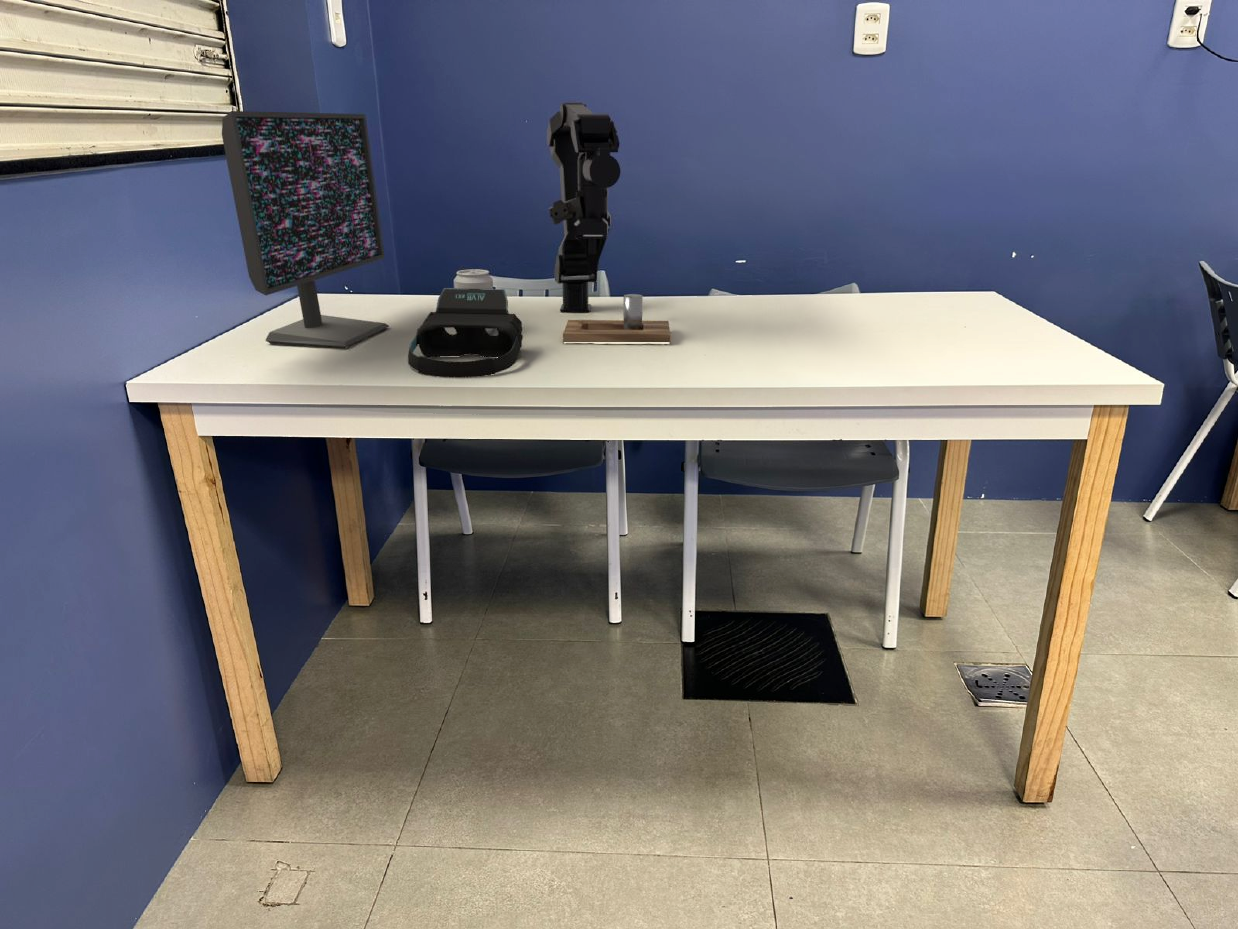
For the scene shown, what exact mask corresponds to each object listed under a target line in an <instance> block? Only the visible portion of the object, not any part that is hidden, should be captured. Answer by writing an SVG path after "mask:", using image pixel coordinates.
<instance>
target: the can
mask: <svg viewBox="0 0 1238 929" xmlns="http://www.w3.org/2000/svg"><path fill="white" fill-rule="evenodd" d="M489 273H490V271H489V270H487V269H477V268H476V269H462V270H457V271H456V276H455V278H454V279H453V288H469V289H494V284H493V277H492V276H490V274H489ZM485 329H486V331H487V333H488V334H491V333H492V332H493V331H494V329H487V328H485Z"/></svg>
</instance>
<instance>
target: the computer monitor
mask: <svg viewBox="0 0 1238 929" xmlns="http://www.w3.org/2000/svg"><path fill="white" fill-rule="evenodd" d="M221 125H222V126H221V137H222V142H223V149H224V152H225V158H226V163H227V169H228V173H229V174H228V175H229V179H230V184H231V189H232V195H233V200H234V205H235V209H236V210H235V211H236V215H237V220H238V227H239V231H240V237H241V242H242V248H243V251H244V252H243V253H244V257H245V262H246V267H247V273H248V277H249V279H250V282H251V284H252V286H253V288H254V290H255V291H256V292H258V293H260V294H262V295H263V296H268V295H272V294H274V293H279V292H281V291H284V290H285V291H286V290H288V289H292V288H294V287H296V288H297V292H298V293H297V294H298V298H299V299H298V300H299V303H300V304H299V305H300V310H301V315H302V319H300V320H297V321H294V322H292V323H289V324H287V325H285V326H284V325H283V326H281V327H279V328H276V329H274V330H271V331H269V332H268V335H267V336H266V338H265V342H267V343H269V344H270V345H282V346H283V345H285V346H297V347H298V346H300V347H315V348H317V347H318V348H331V349H333V348H334V349H347V348H349V347H351V346H354V345H355V344H357V343H360V342H361V341H364V340H366V339H367V338H369V337H372V336H374V335H375V334H378V333H381V332H382V331H384V330H386V329H387V328H389V327H390V324H388V323H386V322H379V321H370V320H362V319H356V318H347V317H341V316H339V317H338V316H332V315H326V314H325V315H324V314H321V307H320V303H319V298H318V291H317V287H316V286H317V285H316V280H320V279H323V278H326V277H329V276H332V275H337V274H339V273H341V272H345V271H349V270H351V269H355V268H357V267H361V266H365V265H367V264H370V263H374V262H378V261H380V260H383V259H385V258H386V257H385V251H384V244H383V235H382V228H381V221H380V213H379V205H378V197H377V191H376V190H377V189H376V183H375V176H374V170H373V162H372V154H371V146H370V140H369V133H368V132H369V131H368V123H367V117H366V113H334V112H333V113H330V112H329V113H327V112H326V113H323V112H293V111H292V112H288V111H287V112H286V111H247V110H244V111H243V110H242V111H241V110H231V111H229V112H228V113H227V114H225V115H224V117H222V124H221ZM363 339H364V340H363Z"/></svg>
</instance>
